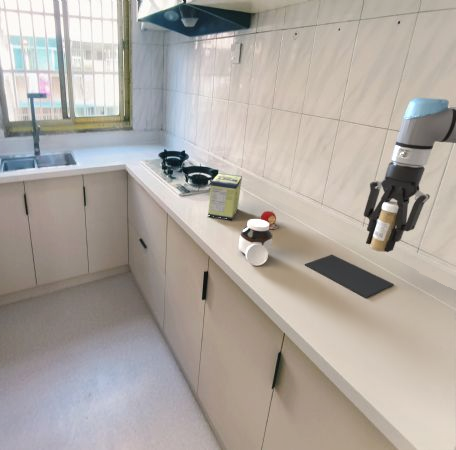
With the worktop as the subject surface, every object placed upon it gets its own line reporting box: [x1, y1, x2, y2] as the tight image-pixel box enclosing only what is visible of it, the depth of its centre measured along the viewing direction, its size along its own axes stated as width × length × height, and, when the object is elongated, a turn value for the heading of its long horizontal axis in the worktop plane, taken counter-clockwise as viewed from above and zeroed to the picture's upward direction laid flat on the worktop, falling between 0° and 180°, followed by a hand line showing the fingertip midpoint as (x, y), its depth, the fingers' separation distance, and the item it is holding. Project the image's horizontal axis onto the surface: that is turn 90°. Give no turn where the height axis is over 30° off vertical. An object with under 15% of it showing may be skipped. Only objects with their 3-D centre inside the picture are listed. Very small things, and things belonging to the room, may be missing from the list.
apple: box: [260, 210, 279, 230], centre depth 135 cm, size 8×8×6 cm
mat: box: [304, 254, 395, 299], centre depth 104 cm, size 20×14×1 cm
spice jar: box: [369, 200, 399, 253], centre depth 91 cm, size 5×5×13 cm
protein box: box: [207, 172, 243, 220], centre depth 145 cm, size 10×16×16 cm
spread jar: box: [238, 218, 273, 267], centre depth 109 cm, size 12×11×12 cm
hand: (379, 246), depth 94 cm, fingers closed on spice jar, 4 cm apart
